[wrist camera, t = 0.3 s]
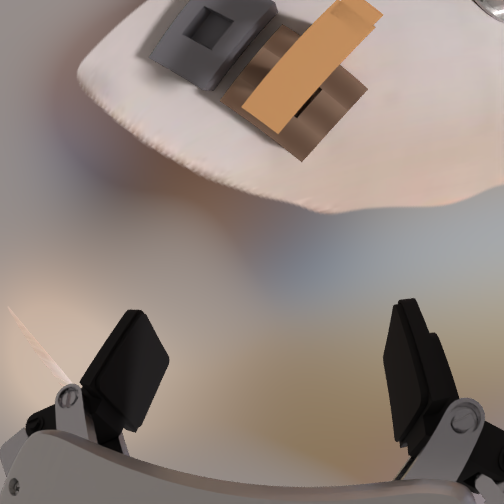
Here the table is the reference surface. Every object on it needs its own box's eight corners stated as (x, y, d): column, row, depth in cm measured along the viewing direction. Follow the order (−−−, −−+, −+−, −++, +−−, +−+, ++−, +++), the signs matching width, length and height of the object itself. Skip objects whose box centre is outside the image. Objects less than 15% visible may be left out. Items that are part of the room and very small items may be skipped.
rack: (222, -16, 23) (213, -27, 19) (278, 11, 25) (274, 2, 21) (163, 60, 30) (148, 57, 27) (213, 90, 32) (202, 90, 28)
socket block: (284, 32, 26) (282, 24, 23) (361, 90, 28) (368, 89, 25) (228, 100, 32) (219, 100, 29) (301, 155, 34) (301, 162, 31)
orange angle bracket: (331, 30, 25) (348, -11, 12) (354, 47, 25) (386, 17, 13) (266, 104, 31) (241, 107, 19) (288, 120, 32) (278, 134, 20)
